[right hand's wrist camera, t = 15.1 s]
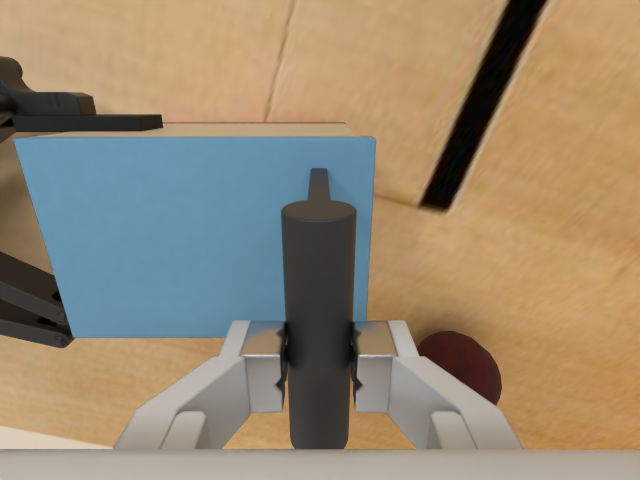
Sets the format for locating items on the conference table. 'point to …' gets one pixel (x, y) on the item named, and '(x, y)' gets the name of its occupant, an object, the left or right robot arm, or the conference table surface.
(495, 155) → the conference table surface
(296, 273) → the lid
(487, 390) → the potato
